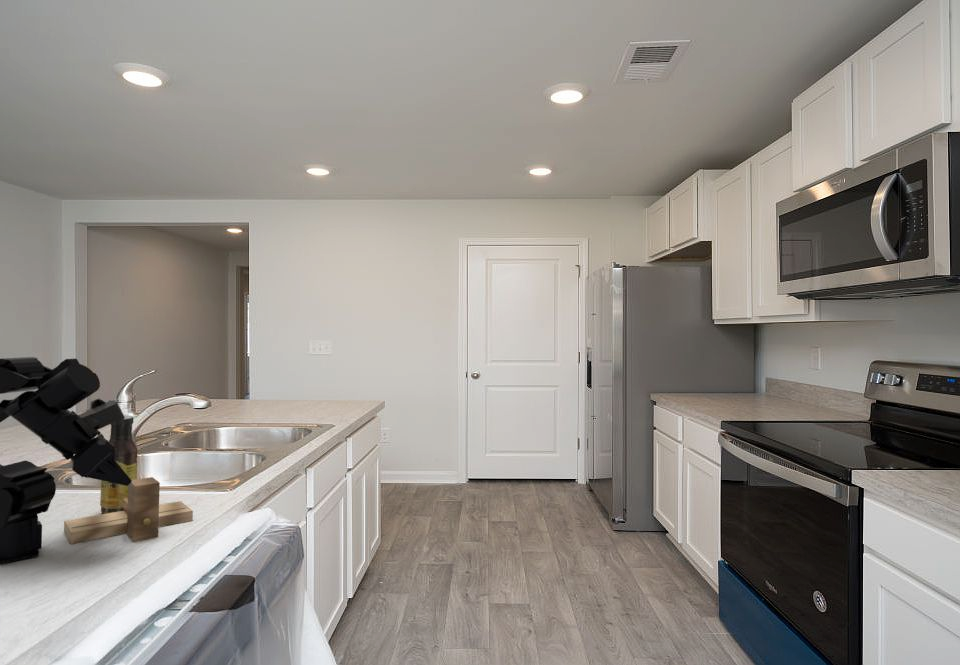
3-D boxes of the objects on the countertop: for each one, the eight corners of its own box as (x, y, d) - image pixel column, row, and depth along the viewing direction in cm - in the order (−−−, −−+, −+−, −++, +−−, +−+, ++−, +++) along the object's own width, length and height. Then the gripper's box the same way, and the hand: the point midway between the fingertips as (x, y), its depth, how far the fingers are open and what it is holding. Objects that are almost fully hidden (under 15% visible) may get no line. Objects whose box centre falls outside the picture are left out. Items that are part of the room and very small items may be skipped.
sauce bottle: (93, 513, 117) (95, 416, 116) (124, 504, 122) (126, 412, 122) (111, 519, 114) (113, 420, 113) (143, 510, 119) (144, 416, 118)
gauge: (134, 542, 102) (135, 486, 102) (115, 520, 113) (117, 470, 113) (159, 537, 105) (160, 483, 105) (138, 516, 116) (140, 467, 116)
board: (70, 543, 101) (70, 532, 101) (63, 531, 106) (64, 520, 106) (192, 520, 114) (192, 510, 114) (180, 510, 120) (180, 500, 120)
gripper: (101, 391, 92) (173, 452, 100) (85, 381, 106) (150, 434, 114) (38, 445, 87) (119, 505, 95) (30, 426, 101) (101, 479, 109)
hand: (124, 477), depth 103 cm, fingers open, 9 cm apart
